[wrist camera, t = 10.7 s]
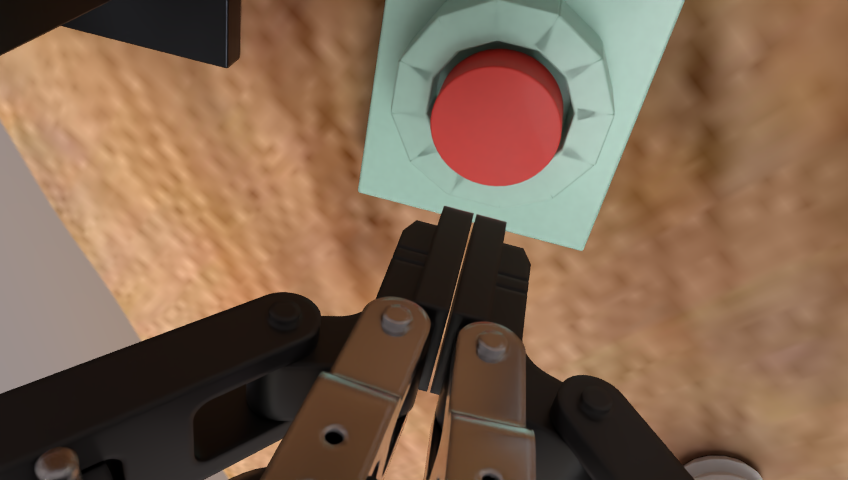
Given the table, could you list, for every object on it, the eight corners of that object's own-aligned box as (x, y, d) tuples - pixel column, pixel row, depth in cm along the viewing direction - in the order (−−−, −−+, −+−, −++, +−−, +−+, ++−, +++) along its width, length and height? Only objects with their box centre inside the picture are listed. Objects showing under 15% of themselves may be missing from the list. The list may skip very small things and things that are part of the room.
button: (452, 33, 21) (443, 51, 20) (579, 65, 21) (579, 85, 19) (428, 147, 23) (419, 169, 22) (543, 176, 23) (540, 200, 22)
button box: (420, -129, 22) (386, -108, 19) (692, -65, 22) (713, -30, 18) (374, 160, 29) (343, 217, 25) (583, 214, 28) (582, 281, 25)
